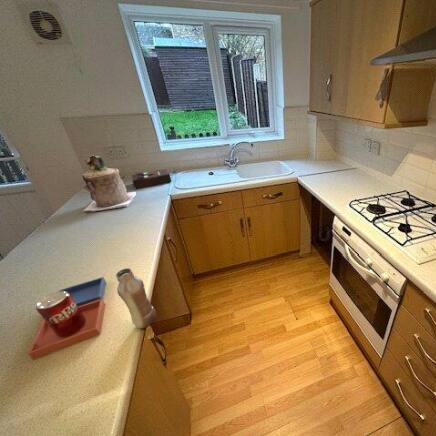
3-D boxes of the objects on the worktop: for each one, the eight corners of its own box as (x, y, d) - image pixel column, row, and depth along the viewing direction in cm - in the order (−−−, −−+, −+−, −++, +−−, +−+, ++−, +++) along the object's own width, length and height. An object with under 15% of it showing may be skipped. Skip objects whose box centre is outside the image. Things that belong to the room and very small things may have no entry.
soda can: (51, 334, 71) (28, 305, 65) (77, 314, 77) (58, 287, 71) (66, 341, 69) (44, 312, 63) (92, 321, 75) (74, 293, 69)
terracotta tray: (33, 359, 65) (27, 353, 64) (47, 323, 75) (43, 318, 74) (100, 334, 71) (96, 328, 70) (105, 304, 82) (102, 298, 80)
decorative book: (172, 173, 186) (128, 181, 173) (175, 182, 190) (131, 190, 176) (169, 167, 201) (128, 174, 187) (171, 176, 205) (131, 183, 191)
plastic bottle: (133, 334, 71) (106, 284, 61) (136, 317, 76) (112, 268, 67) (157, 326, 73) (135, 277, 63) (158, 310, 79) (138, 262, 69)
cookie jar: (137, 193, 171) (121, 148, 156) (129, 207, 151) (109, 156, 135) (98, 198, 165) (76, 152, 149) (83, 214, 144) (56, 161, 129)
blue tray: (53, 318, 77) (49, 312, 76) (62, 295, 86) (58, 290, 84) (102, 301, 83) (99, 296, 81) (106, 281, 91) (103, 276, 90)
